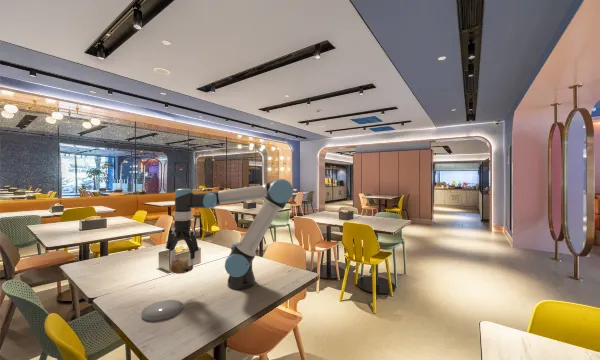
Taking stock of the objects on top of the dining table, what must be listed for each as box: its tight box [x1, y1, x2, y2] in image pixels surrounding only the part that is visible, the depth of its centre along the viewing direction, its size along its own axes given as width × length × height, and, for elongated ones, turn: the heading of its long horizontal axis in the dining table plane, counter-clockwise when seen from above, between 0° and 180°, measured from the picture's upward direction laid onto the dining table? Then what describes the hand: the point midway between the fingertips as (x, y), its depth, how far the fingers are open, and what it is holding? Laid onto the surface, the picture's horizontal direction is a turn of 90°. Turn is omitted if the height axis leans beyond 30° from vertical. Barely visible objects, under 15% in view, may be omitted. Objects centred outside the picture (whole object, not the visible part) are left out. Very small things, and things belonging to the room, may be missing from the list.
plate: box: [140, 299, 184, 322], centre depth 111 cm, size 16×16×1 cm
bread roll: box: [170, 257, 194, 275], centre depth 126 cm, size 10×10×8 cm
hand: (181, 264), depth 126 cm, fingers closed on bread roll, 10 cm apart
